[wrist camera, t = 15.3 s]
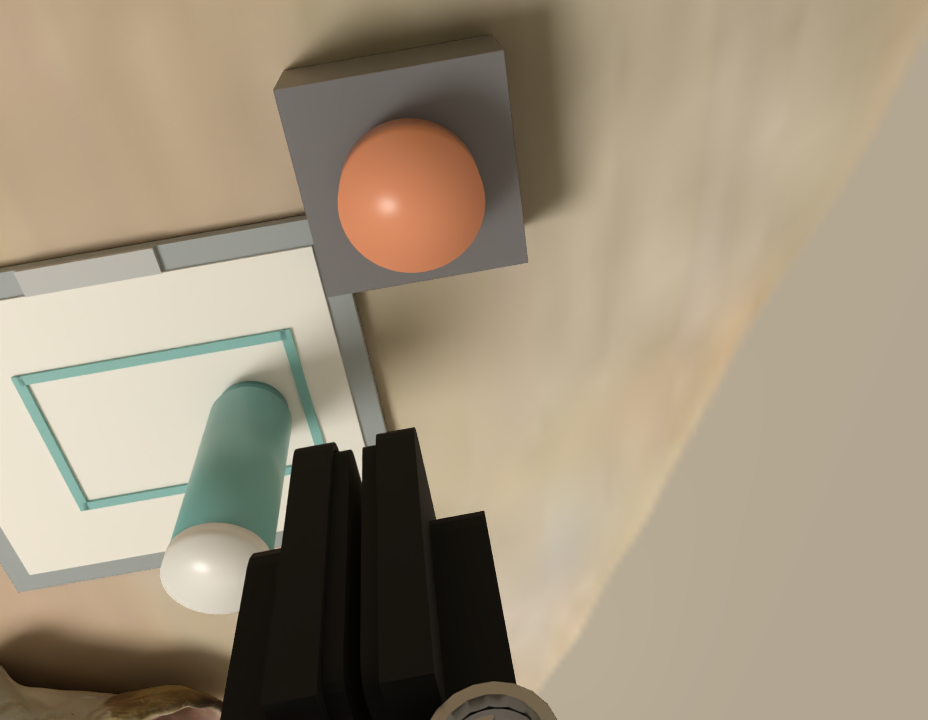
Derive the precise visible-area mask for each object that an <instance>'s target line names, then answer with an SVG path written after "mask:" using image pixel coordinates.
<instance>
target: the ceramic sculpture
mask: <svg viewBox="0 0 928 720" xmlns="http://www.w3.org/2000/svg"><path fill="white" fill-rule="evenodd" d="M222 705H223V702H222V701H220V700H218V699H217V698H214V697H212V696H210V695H207V694H205V693H203V692H200V691H196V690H193V689H190V688H188V687H186V686H181V685H163V686H157V687H152V688H147V689H141V690H135V691H129V692H123V693H120V694H110V693H101V692H91V691H71V690H56V689H48V688H36V687H27V686H22V685H20V684H18V683H16V682H15V681H14V680H12V679H11V678H10V676H9V675H8V674H7V673H6V671H5V669H4V668H3V667H2V666H1V665H0V720H220V717H221V711H222Z"/></svg>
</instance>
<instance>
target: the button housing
mask: <svg viewBox="0 0 928 720" xmlns="http://www.w3.org/2000/svg"><path fill="white" fill-rule="evenodd" d="M273 92H274V96H275V99H276V103H277V107H278V111H279V115H280V118H281V122H282V126H283V130H284V133H285V137H286V141H287V145H288V149H289V152H290V156H291V160H292V164H293V167H294V171H295V175H296V179H297V183H298V186H299V190H300V194H301V198H302V201H303V205H304V209H305V213H306V217H307V220H308V224H309V228H310V232H311V236H312V239H313V243H314V247H315V251H316V254H317V258H318V262H319V266H320V270H321V273H322V277H323V281H324V285H325V288H326V292H327V296H328V297H334V296H339V295H345V294H351V293H357V292H362V291H368V290H374V289H380V288H385V287H391V286H397V285H402V284H408V283H414V282H420V281H425V280H431V279H437V278H443V277H448V276H454V275H460V274H466V273H471V272H477V271H483V270H489V269H494V268H500V267H506V266H511V265H517V264H523V263H528V256H527V248H526V239H525V230H524V222H523V213H522V204H521V195H520V187H519V178H518V169H517V161H516V152H515V143H514V135H513V126H512V117H511V108H510V100H509V91H508V82H507V74H506V65H505V56H504V50H503V49H502V47H501V46H500V45H499V43H498V42H497V41H496V39H495V38H494V37H493V36H492V34H491V35H486V36H480V37H474V38H468V39H462V40H457V41H451V42H445V43H439V44H434V45H428V46H422V47H416V48H411V49H405V50H399V51H393V52H388V53H382V54H376V55H370V56H364V57H359V58H353V59H347V60H341V61H336V62H330V63H324V64H318V65H313V66H307V67H301V68H295V69H290V70H284V71H283V72H282V74H281V76H280V78H279V80H278V82H277V84H276V86H275V88H274V89H273ZM403 118H417V119H423V120H428V121H431V122H434V123H437V124H439V125H441V126H443V127H445V128H447V129H448V130H450V131H451V132H453V133H454V134H455V135H456V136H457V137H459V138H460V139H461V141H462V142H463V143H464V144H465V145H466V147H467V148H468V149H469V151H470V152H471V154H472V156H473V158H474V160H475V163H476V166H477V169H478V171H479V174H480V177H481V180H482V183H483V187H484V192H485V212H484V217H483V221H482V224H481V227H480V230H479V231H478V233H477V235H476V237H475V239H474V240H473V242H472V243H471V245H470V246H469V247H468V248H467V249H466V250H465V251H464V252H463V253H462V254H461V255H460V256H459V257H457V258H456V259H454V260H453V261H452V262H450V263H448V264H446V265H444V266H442V267H439V268H437V269H434V270H430V271H426V272H418V273H404V272H397V271H393V270H389V269H386V268H384V267H381V266H379V265H377V264H375V263H373V262H371V261H370V260H368V259H367V258H366V257H364V256H363V255H362V254H361V253H360V252H359V251H358V250H357V249H356V248H355V247H354V246H353V245H352V243H351V242H350V240H349V239H348V237H347V236H346V234H345V232H344V230H343V227H342V225H341V221H340V218H339V213H338V191H339V183H340V176H341V171H342V167H343V164H344V161H345V159H346V157H347V155H348V153H349V151H350V150H351V148H352V147H353V146H354V144H355V143H356V142H357V141H358V140H359V139H360V138H361V137H362V136H363V135H364V134H365V133H367V132H368V131H369V130H371V129H372V128H374V127H376V126H378V125H380V124H382V123H385V122H388V121H392V120H396V119H403Z"/></svg>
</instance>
